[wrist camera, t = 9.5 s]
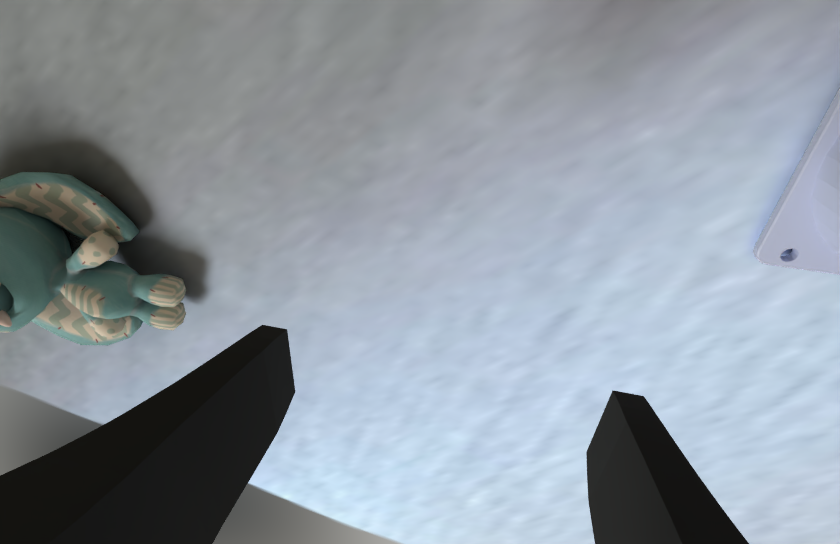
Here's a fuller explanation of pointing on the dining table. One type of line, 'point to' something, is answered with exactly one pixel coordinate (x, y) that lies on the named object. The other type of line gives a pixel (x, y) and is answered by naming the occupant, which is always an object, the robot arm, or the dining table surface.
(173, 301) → the stuffed animal
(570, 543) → the dining table surface
